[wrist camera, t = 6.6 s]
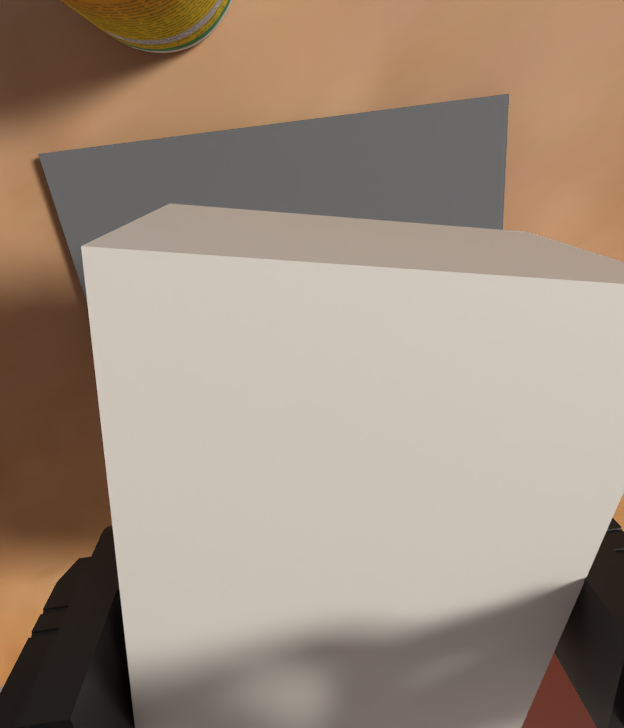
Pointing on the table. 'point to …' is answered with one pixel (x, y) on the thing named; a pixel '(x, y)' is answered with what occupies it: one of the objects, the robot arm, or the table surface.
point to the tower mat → (298, 171)
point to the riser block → (350, 462)
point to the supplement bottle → (154, 21)
